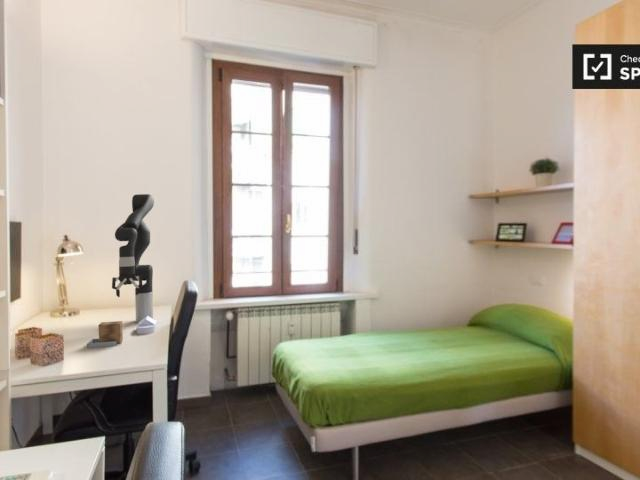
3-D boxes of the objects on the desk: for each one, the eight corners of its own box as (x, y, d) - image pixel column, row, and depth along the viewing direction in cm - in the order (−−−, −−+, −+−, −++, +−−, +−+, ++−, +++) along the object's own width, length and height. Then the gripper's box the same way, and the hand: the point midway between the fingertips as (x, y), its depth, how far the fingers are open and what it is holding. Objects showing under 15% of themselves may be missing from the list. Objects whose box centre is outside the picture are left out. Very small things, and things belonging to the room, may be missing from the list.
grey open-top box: (87, 348, 173) (87, 343, 173) (92, 342, 180) (91, 338, 180) (116, 345, 176) (116, 341, 176) (119, 340, 184) (119, 336, 184)
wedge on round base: (138, 328, 206) (135, 335, 194) (138, 316, 206) (135, 322, 193) (156, 326, 209) (154, 333, 197) (156, 315, 209) (154, 320, 196)
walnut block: (99, 346, 176) (98, 325, 175) (101, 343, 180) (101, 322, 180) (120, 344, 178) (120, 323, 178) (122, 341, 183) (122, 321, 183)
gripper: (140, 264, 207) (140, 294, 207) (110, 266, 198) (111, 296, 198) (143, 264, 201) (143, 295, 201) (112, 266, 192) (113, 298, 192)
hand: (127, 296), depth 199 cm, fingers open, 8 cm apart
